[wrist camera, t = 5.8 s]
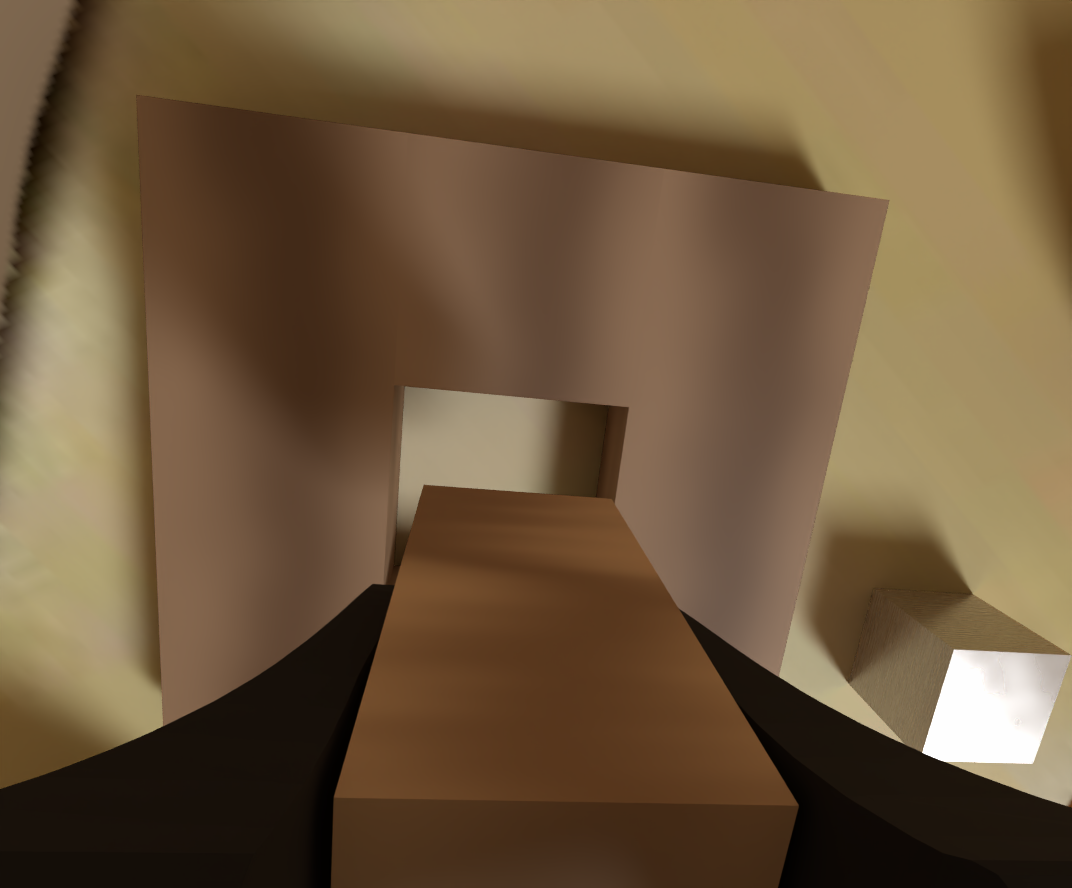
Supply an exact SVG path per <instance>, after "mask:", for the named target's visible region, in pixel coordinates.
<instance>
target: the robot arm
mask: <svg viewBox="0 0 1072 888" xmlns="http://www.w3.org/2000/svg"><path fill="white" fill-rule="evenodd" d="M394 587H395V585H384V584H372V585H371V586H369V587H368V588H367V589H366V590H364V591H363V592H362V593H361V594H360V595H359V596H358V597H357V598H355V599H354V600H353V601H352V602H351V603H350V604H349V605H348V606H347V607H346V608H344V609H343V610H342V611H341V612H340V613H339V614H338V615H337V616H335V617H334V618H333V619H332V620H331V621H330V622H328V623H327V624H326V625H325V626H324V627H322V628H321V629H320V630H319V631H318V632H316V633H315V634H314V635H313V636H312V637H310V638H309V639H308V640H307V641H305V642H304V643H303V644H301V645H300V646H299V647H297V648H296V649H295V650H293V651H292V652H291V653H289V654H288V655H286V656H285V657H284V658H282V659H281V660H280V661H278V662H277V663H276V664H274V665H273V666H271V667H270V668H268V669H267V670H265V671H264V672H262V673H261V674H259V675H257V676H256V677H254V678H253V679H251V680H249V681H248V682H246V683H244V684H243V685H241V686H239V687H238V688H236V689H234V690H232V691H231V692H229V693H227V694H226V695H224V696H222V697H220V698H219V699H217V700H215V701H213V702H211V703H209V704H207V705H205V706H203V707H201V708H199V709H197V710H195V711H193V712H191V713H189V714H187V715H185V716H183V717H181V718H179V719H177V720H175V721H173V722H171V723H169V724H167V725H165V726H163V727H161V728H159V729H157V730H155V731H153V732H150V733H148V734H146V735H144V736H141V737H139V738H137V739H134V740H132V741H130V742H127V743H125V744H123V745H120V746H118V747H115V748H113V749H111V750H108V751H106V752H103V753H101V754H98V755H96V756H93V757H90V758H88V759H85V760H83V761H80V762H77V763H75V764H72V765H70V766H67V767H64V768H62V769H59V770H56V771H53V772H50V773H48V774H45V775H42V776H39V777H36V778H33V779H30V780H27V781H24V782H21V783H18V784H15V785H12V786H8V787H5V788H2V789H0V888H331V867H332V836H333V805H334V795H335V792H336V788H337V785H338V781H339V778H340V774H341V771H342V767H343V764H344V760H345V757H346V753H347V750H348V746H349V743H350V739H351V736H352V733H353V729H354V726H355V722H356V719H357V715H358V712H359V708H360V705H361V701H362V698H363V694H364V691H365V687H366V684H367V680H368V677H369V674H370V670H371V667H372V663H373V660H374V656H375V653H376V649H377V646H378V642H379V639H380V635H381V632H382V628H383V625H384V621H385V618H386V615H387V611H388V608H389V604H390V601H391V597H392V594H393V590H394ZM679 610H680V609H679ZM680 612H681V613H682V615H683V617H684V618H685V620H686V622H687V623H688V625H689V626H690V628H691V630H692V631H693V633H694V635H695V636H696V638H697V640H698V641H699V643H700V644H701V646H702V648H703V649H704V651H705V653H706V654H707V656H708V658H709V659H710V661H711V662H712V664H713V666H714V667H715V669H716V671H717V672H718V674H719V676H720V677H721V679H722V680H723V682H724V684H725V685H726V687H727V689H728V690H729V692H730V694H731V695H732V697H733V698H734V700H735V702H736V703H737V705H738V707H739V708H740V710H741V712H742V713H743V715H744V716H745V718H746V720H747V721H748V723H749V725H750V726H751V728H752V730H753V731H754V733H755V734H756V736H757V738H758V739H759V741H760V743H761V744H762V746H763V748H764V749H765V751H766V752H767V754H768V756H769V757H770V759H771V761H772V762H773V764H774V766H775V767H776V769H777V770H778V772H779V774H780V775H781V777H782V779H783V780H784V782H785V784H786V785H787V787H788V788H789V790H790V792H791V793H792V795H793V797H794V798H795V800H796V802H797V803H798V805H799V808H798V811H797V815H796V819H795V823H794V827H793V831H792V835H791V839H790V842H789V846H788V850H787V854H786V858H785V862H784V866H783V869H782V873H781V877H780V881H779V885H778V888H1072V808H1071V807H1068V806H1065V805H1061V804H1058V803H1055V802H1052V801H1049V800H1045V799H1042V798H1039V797H1036V796H1033V795H1031V794H1028V793H1025V792H1022V791H1020V790H1017V789H1014V788H1011V787H1009V786H1006V785H1003V784H1001V783H998V782H995V781H992V780H990V779H987V778H984V777H982V776H979V775H976V774H973V773H971V772H968V771H966V770H963V769H961V768H959V767H956V766H954V765H951V764H949V763H946V762H944V761H941V760H939V759H936V758H934V757H932V756H929V755H927V754H925V753H923V752H920V751H918V750H916V749H914V748H912V747H909V746H907V745H905V744H903V743H900V742H898V741H896V740H894V739H891V738H889V737H887V736H885V735H883V734H881V733H879V732H877V731H875V730H873V729H870V728H868V727H866V726H864V725H862V724H860V723H858V722H857V721H855V720H853V719H851V718H849V717H847V716H845V715H843V714H842V713H840V712H838V711H836V710H834V709H832V708H830V707H828V706H827V705H825V704H823V703H821V702H819V701H817V700H816V699H814V698H812V697H811V696H809V695H807V694H805V693H804V692H802V691H800V690H799V689H797V688H795V687H794V686H792V685H791V684H789V683H788V682H786V681H784V680H783V679H781V678H780V677H778V676H776V675H775V674H773V673H772V672H770V671H768V670H767V669H765V668H764V667H762V666H761V665H759V664H758V663H756V662H755V661H753V660H752V659H750V658H749V657H747V656H746V655H745V654H743V653H742V652H740V651H739V650H737V649H736V648H734V647H733V646H732V645H730V644H729V643H727V642H726V641H725V640H723V639H722V638H720V637H719V636H718V635H716V634H715V633H713V632H712V631H711V630H709V629H708V628H706V627H705V626H704V625H702V624H701V623H699V622H698V621H696V620H695V619H694V618H692V617H691V616H689V615H688V614H686V613H685V612H683V611H682V610H680Z"/></svg>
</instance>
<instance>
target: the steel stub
mask: <svg viewBox="0 0 1072 888" xmlns="http://www.w3.org/2000/svg"><path fill="white" fill-rule="evenodd" d="M1071 656H1072V655H1070V654H1069V653H1067V652H1065V651H1064V650H1062V649H1060V648H1059V647H1057V646H1056V645H1054V644H1052V643H1051V642H1049V641H1048V640H1046V639H1044V638H1043V637H1041V636H1040V635H1038V634H1036V633H1035V632H1033V631H1031V630H1030V629H1028V628H1027V627H1025V626H1023V625H1022V624H1020V623H1019V622H1017V621H1015V620H1014V619H1012V618H1010V617H1009V616H1007V615H1006V614H1004V613H1002V612H1001V611H999V610H998V609H996V608H994V607H993V606H991V605H989V604H988V603H986V602H985V601H983V600H981V599H980V598H978V597H977V596H975V595H973V594H961V593H944V592H928V591H911V590H895V589H879V588H873V592H872V596H871V600H870V603H869V607H868V611H867V615H866V619H865V622H864V626H863V630H862V634H861V638H860V641H859V645H858V649H857V653H856V657H855V660H854V664H853V668H852V672H851V675H850V679H849V683H848V684H849V685H850V686H851V687H852V688H853V689H854V690H855V691H856V692H857V693H858V694H859V695H860V696H861V698H862V699H863V700H864V701H865V702H866V703H867V704H868V705H869V706H870V707H871V708H872V709H873V710H874V711H875V713H876V714H877V715H878V716H879V717H880V718H881V719H882V720H883V721H884V722H885V723H886V724H887V725H888V726H889V728H890V729H891V730H892V731H893V732H894V733H895V734H896V735H897V736H898V737H899V738H900V739H901V740H902V742H903V743H904V744H905V745H907V746H909V747H912V748H914V749H916V750H918V751H920V752H923V753H925V754H927V755H929V756H932V757H934V758H936V759H939V760H941V761H958V762H994V763H1031V764H1033V762H1034V759H1035V756H1036V753H1037V751H1038V748H1039V745H1040V742H1041V739H1042V737H1043V734H1044V731H1045V728H1046V725H1047V723H1048V720H1049V717H1050V714H1051V711H1052V709H1053V706H1054V703H1055V700H1056V697H1057V695H1058V692H1059V689H1060V686H1061V683H1062V681H1063V678H1064V675H1065V672H1066V669H1067V667H1068V664H1069V661H1070V658H1071Z"/></svg>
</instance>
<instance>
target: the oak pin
mask: <svg viewBox="0 0 1072 888" xmlns="http://www.w3.org/2000/svg"><path fill="white" fill-rule="evenodd" d="M798 808H799V805H798V803H797V802H796V800H795V798H794V797H793V795H792V793H791V792H790V790H789V788H788V787H787V785H786V784H785V782H784V780H783V779H782V777H781V775H780V774H779V772H778V770H777V769H776V767H775V766H774V764H773V762H772V761H771V759H770V757H769V756H768V754H767V752H766V751H765V749H764V748H763V746H762V744H761V743H760V741H759V739H758V738H757V736H756V734H755V733H754V731H753V730H752V728H751V726H750V725H749V723H748V721H747V720H746V718H745V716H744V715H743V713H742V712H741V710H740V708H739V707H738V705H737V703H736V702H735V700H734V698H733V697H732V695H731V694H730V692H729V690H728V689H727V687H726V685H725V684H724V682H723V680H722V679H721V677H720V676H719V674H718V672H717V671H716V669H715V667H714V666H713V664H712V662H711V661H710V659H709V658H708V656H707V654H706V653H705V651H704V649H703V648H702V646H701V644H700V643H699V641H698V640H697V638H696V636H695V635H694V633H693V631H692V630H691V628H690V626H689V625H688V623H687V622H686V620H685V618H684V617H683V615H682V613H681V612H680V610H679V608H678V607H677V605H676V603H675V602H674V600H673V599H672V597H671V595H670V594H669V592H668V590H667V589H666V587H665V585H664V584H663V582H662V581H661V579H660V577H659V576H658V574H657V572H656V571H655V569H654V567H653V566H652V564H651V563H650V561H649V559H648V558H647V556H646V554H645V553H644V551H643V549H642V548H641V546H640V545H639V543H638V541H637V540H636V538H635V536H634V535H633V533H632V531H631V530H630V528H629V527H628V525H627V523H626V522H625V520H624V518H623V517H622V515H621V513H620V512H619V510H618V509H617V507H616V505H615V504H614V502H613V500H612V499H607V498H594V497H580V496H567V495H553V494H540V493H526V492H512V491H499V490H485V489H472V488H458V487H445V486H431V485H424V486H423V490H422V493H421V496H420V500H419V503H418V507H417V510H416V514H415V517H414V521H413V524H412V528H411V531H410V535H409V538H408V542H407V545H406V549H405V552H404V555H403V559H402V562H401V566H400V569H399V573H398V576H397V580H396V583H395V587H394V590H393V594H392V597H391V601H390V604H389V608H388V611H387V615H386V618H385V621H384V625H383V628H382V632H381V635H380V639H379V642H378V646H377V649H376V653H375V656H374V660H373V663H372V667H371V670H370V674H369V677H368V680H367V684H366V687H365V691H364V694H363V698H362V701H361V705H360V708H359V712H358V715H357V719H356V722H355V726H354V729H353V733H352V736H351V739H350V743H349V746H348V750H347V753H346V757H345V760H344V764H343V767H342V771H341V774H340V778H339V781H338V785H337V788H336V792H335V795H334V805H333V836H332V867H331V888H778V885H779V881H780V877H781V873H782V869H783V866H784V862H785V858H786V854H787V850H788V846H789V842H790V839H791V835H792V831H793V827H794V823H795V819H796V815H797V811H798Z"/></svg>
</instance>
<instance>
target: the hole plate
mask: <svg viewBox="0 0 1072 888" xmlns="http://www.w3.org/2000/svg"><path fill="white" fill-rule="evenodd" d="M136 98H137V121H138V145H139V168H140V192H141V215H142V239H143V262H144V286H145V309H146V333H147V356H148V380H149V403H150V427H151V450H152V474H153V497H154V521H155V544H156V568H157V592H158V615H159V639H160V662H161V686H162V709H163V726H165V725H167V724H169V723H171V722H173V721H175V720H177V719H179V718H181V717H183V716H185V715H187V714H189V713H191V712H193V711H195V710H197V709H199V708H201V707H203V706H205V705H207V704H209V703H211V702H213V701H215V700H217V699H219V698H220V697H222V696H224V695H226V694H227V693H229V692H231V691H232V690H234V689H236V688H238V687H239V686H241V685H243V684H244V683H246V682H248V681H249V680H251V679H253V678H254V677H256V676H257V675H259V674H261V673H262V672H264V671H265V670H267V669H268V668H270V667H271V666H273V665H274V664H276V663H277V662H278V661H280V660H281V659H282V658H284V657H285V656H286V655H288V654H289V653H291V652H292V651H293V650H295V649H296V648H297V647H299V646H300V645H301V644H303V643H304V642H305V641H307V640H308V639H309V638H310V637H312V636H313V635H314V634H315V633H316V632H318V631H319V630H320V629H321V628H322V627H324V626H325V625H326V624H327V623H328V622H330V621H331V620H332V619H333V618H334V617H335V616H337V615H338V614H339V613H340V612H341V611H342V610H343V609H344V608H346V607H347V606H348V605H349V604H350V603H351V602H352V601H353V600H354V599H355V598H357V597H358V596H359V595H360V594H361V593H362V592H363V591H364V590H366V589H367V588H368V587H369V586H371V585H372V584H384V585H395V583H396V580H397V576H398V573H399V569H400V566H394V558H395V541H396V524H397V507H398V489H399V472H400V455H401V438H402V421H403V404H404V387H405V386H409V387H419V388H430V389H441V390H451V391H462V392H473V393H483V394H494V395H505V396H515V397H526V398H537V399H547V400H558V401H569V402H579V403H590V404H601V405H609V408H608V415H607V422H606V429H605V437H604V444H603V451H602V458H601V465H600V472H599V479H598V487H597V494H596V498H607V499H612V500H613V502H614V504H615V505H616V507H617V509H618V510H619V512H620V513H621V515H622V517H623V518H624V520H625V522H626V523H627V525H628V527H629V528H630V530H631V531H632V533H633V535H634V536H635V538H636V540H637V541H638V543H639V545H640V546H641V548H642V549H643V551H644V553H645V554H646V556H647V558H648V559H649V561H650V563H651V564H652V566H653V567H654V569H655V571H656V572H657V574H658V576H659V577H660V579H661V581H662V582H663V584H664V585H665V587H666V589H667V590H668V592H669V594H670V595H671V597H672V599H673V600H674V602H675V603H676V605H677V607H678V608H679V609H680V610H682V611H683V612H685V613H686V614H688V615H689V616H691V617H692V618H694V619H695V620H696V621H698V622H699V623H701V624H702V625H704V626H705V627H706V628H708V629H709V630H711V631H712V632H713V633H715V634H716V635H718V636H719V637H720V638H722V639H723V640H725V641H726V642H727V643H729V644H730V645H732V646H733V647H734V648H736V649H737V650H739V651H740V652H742V653H743V654H745V655H746V656H747V657H749V658H750V659H752V660H753V661H755V662H756V663H758V664H759V665H761V666H762V667H764V668H765V669H767V670H768V671H770V672H772V673H773V674H775V675H776V676H778V677H779V673H780V668H781V664H782V660H783V656H784V651H785V647H786V643H787V638H788V634H789V630H790V625H791V621H792V617H793V613H794V608H795V604H796V600H797V595H798V591H799V587H800V582H801V578H802V574H803V570H804V565H805V561H806V557H807V552H808V548H809V544H810V539H811V535H812V531H813V527H814V522H815V518H816V514H817V509H818V505H819V501H820V496H821V492H822V488H823V484H824V479H825V475H826V471H827V466H828V462H829V458H830V454H831V449H832V445H833V441H834V436H835V432H836V428H837V423H838V419H839V415H840V411H841V406H842V402H843V398H844V393H845V389H846V385H847V380H848V376H849V372H850V368H851V363H852V359H853V355H854V350H855V346H856V342H857V337H858V333H859V329H860V325H861V320H862V316H863V312H864V307H865V303H866V299H867V294H868V290H869V286H870V282H871V277H872V273H873V269H874V264H875V260H876V256H877V252H878V247H879V243H880V239H881V234H882V230H883V226H884V221H885V217H886V213H887V209H888V204H889V200H884V199H877V198H870V197H863V196H856V195H849V194H841V193H834V192H827V191H820V190H813V189H806V188H799V187H791V186H784V185H777V184H770V183H763V182H756V181H748V180H741V179H734V178H727V177H720V176H713V175H706V174H698V173H691V172H684V171H677V170H670V169H663V168H655V167H648V166H641V165H634V164H627V163H620V162H613V161H605V160H598V159H591V158H584V157H577V156H570V155H562V154H555V153H548V152H541V151H534V150H527V149H520V148H512V147H505V146H498V145H491V144H484V143H477V142H469V141H462V140H455V139H448V138H441V137H434V136H427V135H419V134H412V133H405V132H398V131H391V130H384V129H376V128H369V127H362V126H355V125H348V124H341V123H334V122H326V121H319V120H312V119H305V118H298V117H291V116H283V115H276V114H269V113H262V112H255V111H248V110H241V109H233V108H226V107H219V106H212V105H205V104H198V103H190V102H183V101H176V100H169V99H162V98H155V97H148V96H140V95H136Z"/></svg>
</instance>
